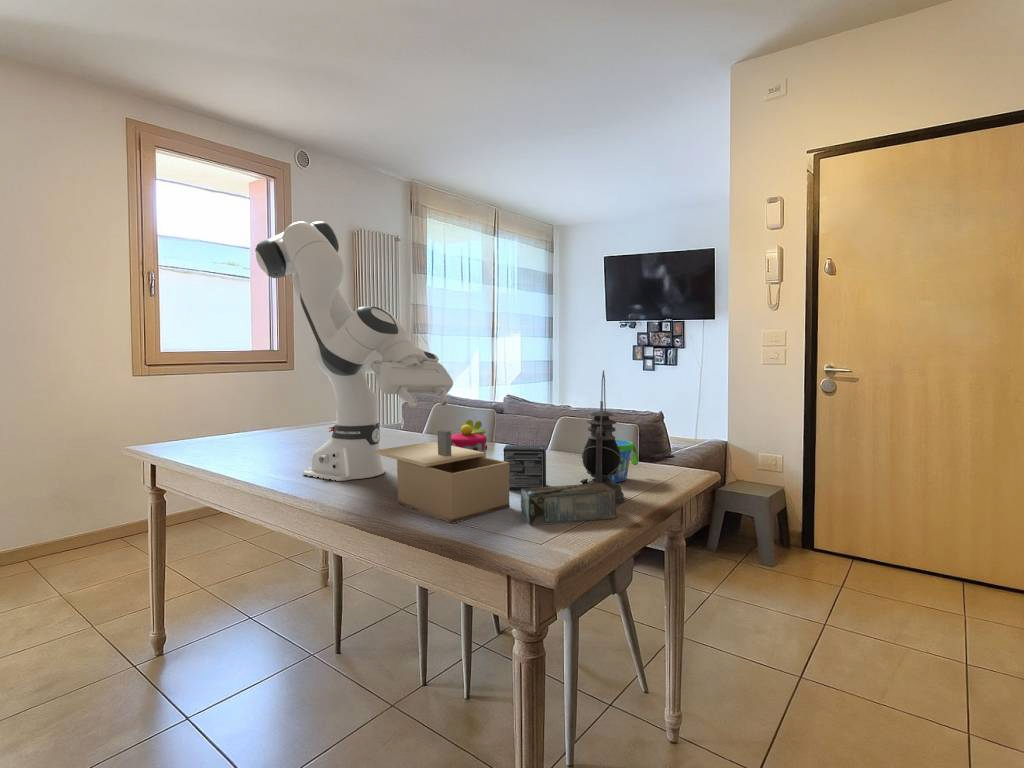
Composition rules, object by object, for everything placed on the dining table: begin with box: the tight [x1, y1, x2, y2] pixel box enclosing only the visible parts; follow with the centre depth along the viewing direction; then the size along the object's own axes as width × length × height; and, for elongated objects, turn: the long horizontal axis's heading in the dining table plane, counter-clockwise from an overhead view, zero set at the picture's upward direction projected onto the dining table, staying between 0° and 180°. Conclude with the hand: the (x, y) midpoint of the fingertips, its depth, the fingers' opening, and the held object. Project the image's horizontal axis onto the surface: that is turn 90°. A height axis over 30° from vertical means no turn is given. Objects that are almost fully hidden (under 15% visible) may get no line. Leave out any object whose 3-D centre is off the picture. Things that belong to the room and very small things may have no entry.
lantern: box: [579, 370, 625, 505], centre depth 125 cm, size 12×11×30 cm
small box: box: [503, 444, 547, 491], centre depth 136 cm, size 11×6×10 cm, turn 84°
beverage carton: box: [520, 482, 617, 526], centre depth 113 cm, size 8×19×7 cm, turn 102°
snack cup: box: [608, 439, 639, 483], centre depth 143 cm, size 16×10×10 cm
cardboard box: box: [396, 456, 510, 524], centre depth 121 cm, size 20×16×10 cm
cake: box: [451, 419, 488, 458], centre depth 150 cm, size 10×11×15 cm
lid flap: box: [375, 429, 485, 467], centre depth 127 cm, size 21×17×6 cm
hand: (430, 404), depth 126 cm, fingers open, 8 cm apart
